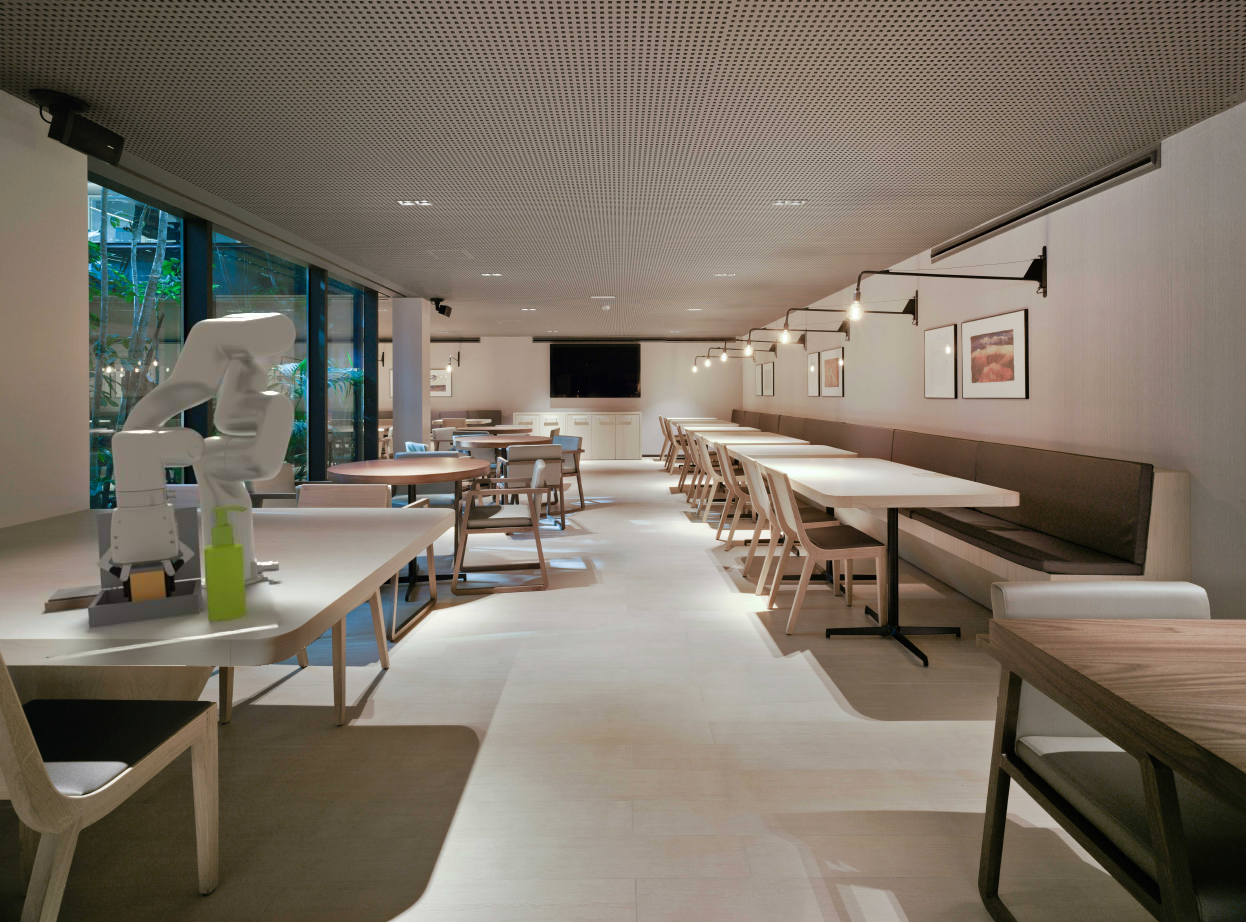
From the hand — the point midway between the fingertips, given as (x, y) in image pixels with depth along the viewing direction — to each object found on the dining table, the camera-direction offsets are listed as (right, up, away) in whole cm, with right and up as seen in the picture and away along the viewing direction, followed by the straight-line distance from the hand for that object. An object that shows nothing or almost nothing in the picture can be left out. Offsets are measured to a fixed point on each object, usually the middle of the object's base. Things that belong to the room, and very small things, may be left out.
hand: (150, 597), depth 129 cm
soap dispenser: (+16, -3, -3) cm, 17 cm away
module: (0, -2, 0) cm, 2 cm away
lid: (-5, +8, +7) cm, 12 cm away
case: (-1, -3, +1) cm, 3 cm away
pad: (-18, -3, +8) cm, 20 cm away
